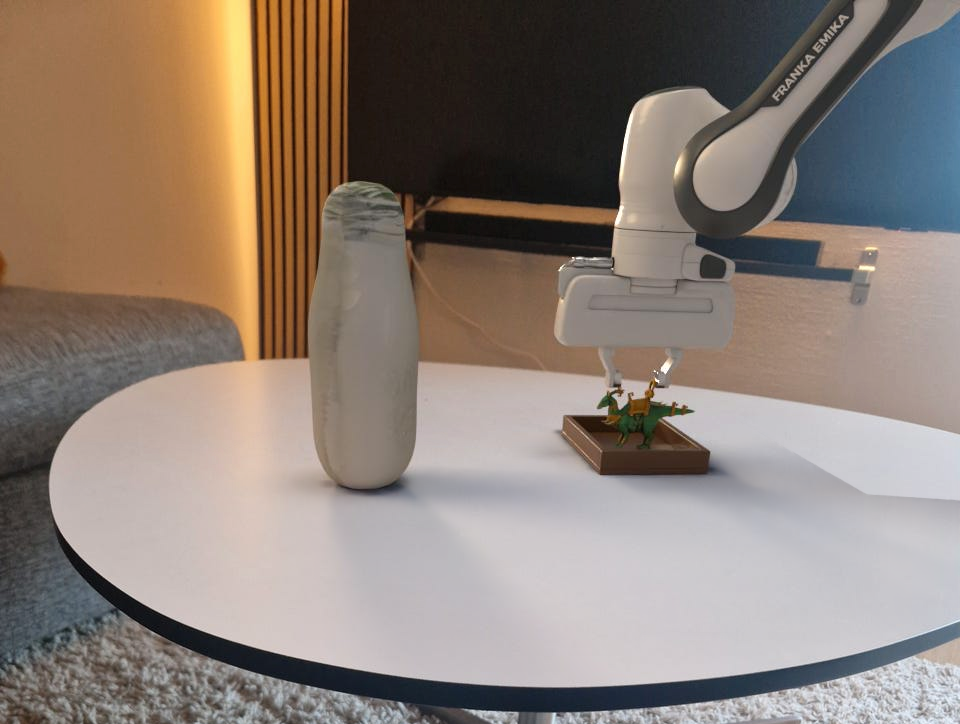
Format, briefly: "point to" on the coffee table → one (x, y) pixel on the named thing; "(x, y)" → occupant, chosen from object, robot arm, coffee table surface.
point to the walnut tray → (634, 448)
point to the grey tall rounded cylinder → (363, 340)
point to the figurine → (638, 414)
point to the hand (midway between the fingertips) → (636, 387)
